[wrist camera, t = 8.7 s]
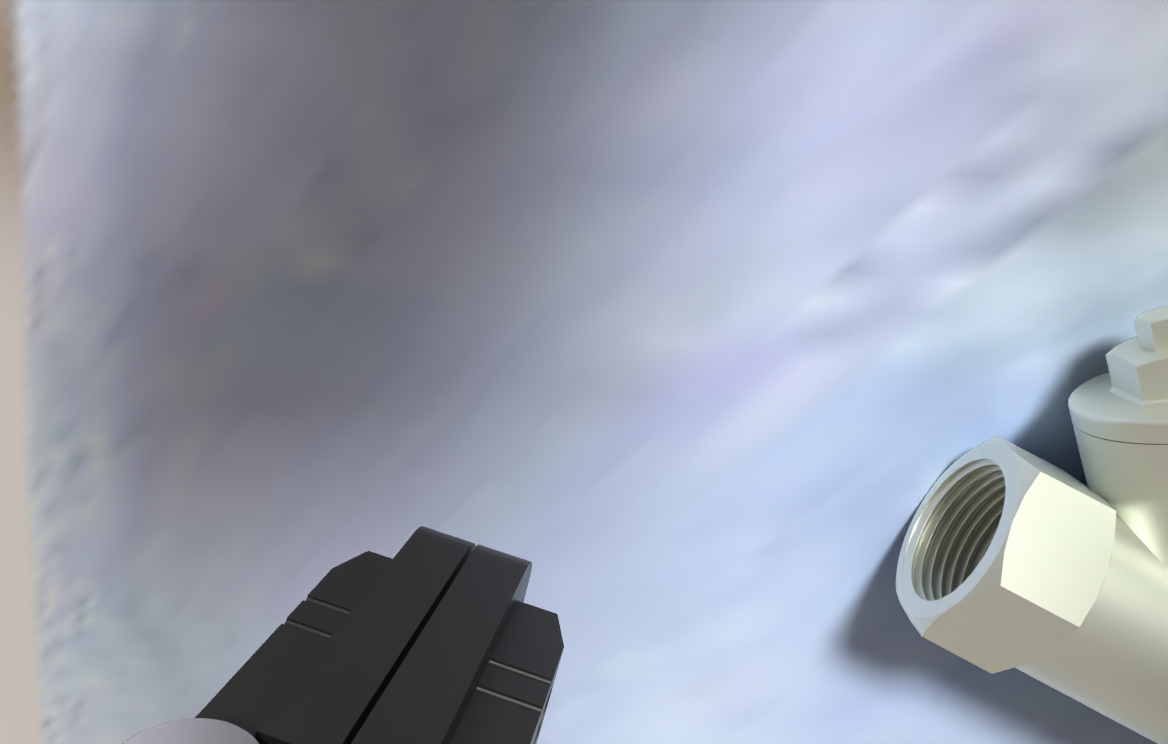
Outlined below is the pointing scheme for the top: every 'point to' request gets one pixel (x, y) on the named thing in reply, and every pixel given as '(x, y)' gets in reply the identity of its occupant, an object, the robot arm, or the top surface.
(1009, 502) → the pipe fitting
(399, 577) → the robot arm
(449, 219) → the top surface
